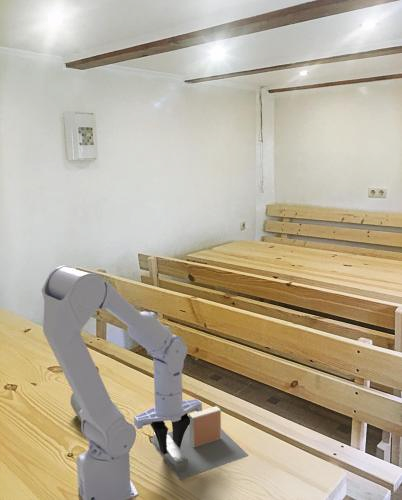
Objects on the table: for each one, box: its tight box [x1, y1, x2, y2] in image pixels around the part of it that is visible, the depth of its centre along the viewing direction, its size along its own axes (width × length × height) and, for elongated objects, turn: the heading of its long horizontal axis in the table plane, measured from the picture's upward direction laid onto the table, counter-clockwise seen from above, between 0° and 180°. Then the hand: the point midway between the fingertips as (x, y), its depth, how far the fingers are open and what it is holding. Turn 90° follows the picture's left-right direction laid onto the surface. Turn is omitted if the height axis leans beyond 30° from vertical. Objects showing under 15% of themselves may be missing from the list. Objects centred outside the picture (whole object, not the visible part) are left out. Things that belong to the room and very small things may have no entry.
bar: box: [153, 431, 188, 473], centre depth 96 cm, size 2×12×2 cm, turn 28°
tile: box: [188, 405, 222, 448], centre depth 101 cm, size 7×2×7 cm, turn 118°
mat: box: [148, 426, 249, 481], centre depth 99 cm, size 16×16×1 cm
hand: (170, 449), depth 96 cm, fingers closed on bar, 2 cm apart
